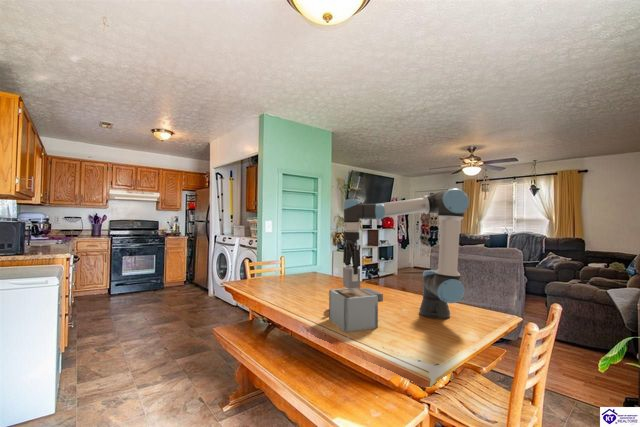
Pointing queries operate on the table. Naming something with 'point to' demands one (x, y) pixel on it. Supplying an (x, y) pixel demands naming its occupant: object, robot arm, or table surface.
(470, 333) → the table surface
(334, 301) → the grey box
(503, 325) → the table surface
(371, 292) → the trapdoor
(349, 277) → the basalt block
